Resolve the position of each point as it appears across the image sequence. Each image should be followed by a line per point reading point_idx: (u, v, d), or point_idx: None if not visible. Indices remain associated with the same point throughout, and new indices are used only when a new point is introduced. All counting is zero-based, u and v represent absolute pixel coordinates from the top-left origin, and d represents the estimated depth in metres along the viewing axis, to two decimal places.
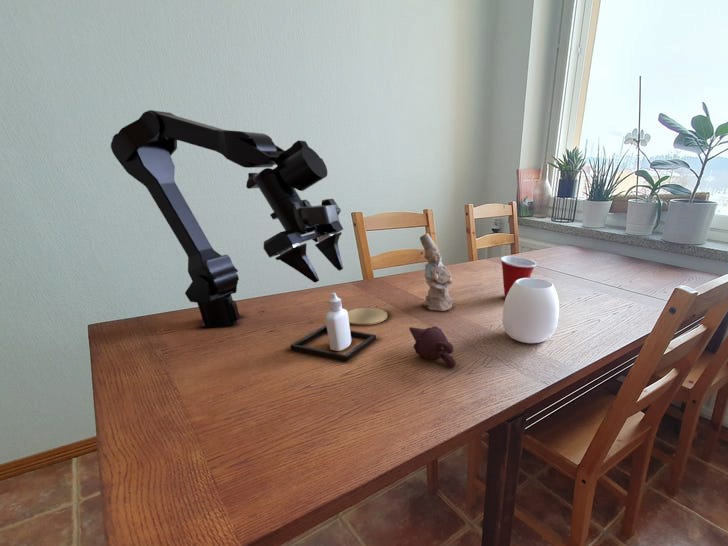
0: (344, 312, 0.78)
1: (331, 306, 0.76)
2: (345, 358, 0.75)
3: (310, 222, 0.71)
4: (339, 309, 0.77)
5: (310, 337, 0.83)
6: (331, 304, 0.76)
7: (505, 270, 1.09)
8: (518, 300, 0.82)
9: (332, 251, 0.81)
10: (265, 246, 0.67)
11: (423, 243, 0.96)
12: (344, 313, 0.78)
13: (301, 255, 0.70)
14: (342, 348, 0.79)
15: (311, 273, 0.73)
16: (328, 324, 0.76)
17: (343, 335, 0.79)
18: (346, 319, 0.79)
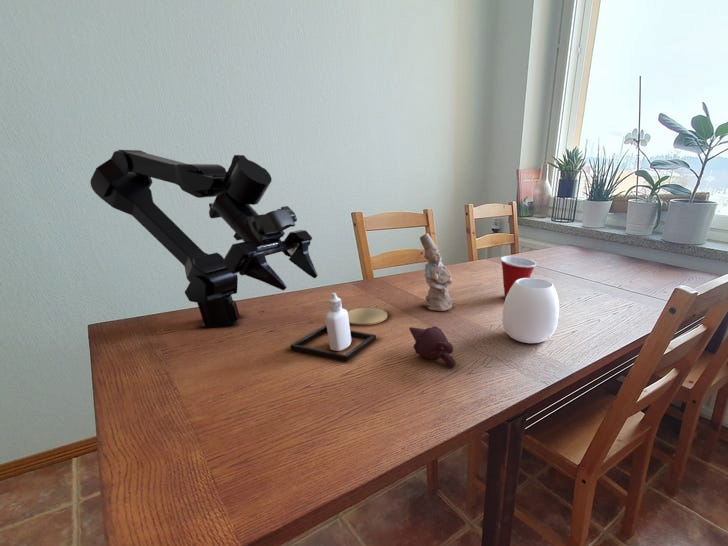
0: (344, 312, 0.78)
1: (331, 306, 0.76)
2: (345, 358, 0.75)
3: (265, 231, 0.71)
4: (339, 309, 0.77)
5: (310, 337, 0.83)
6: (331, 304, 0.76)
7: (505, 270, 1.09)
8: (518, 300, 0.82)
9: (303, 260, 0.80)
10: (225, 263, 0.68)
11: (423, 243, 0.96)
12: (344, 313, 0.78)
13: (261, 264, 0.70)
14: (342, 348, 0.79)
15: (276, 280, 0.72)
16: (328, 324, 0.76)
17: (343, 335, 0.79)
18: (346, 319, 0.79)
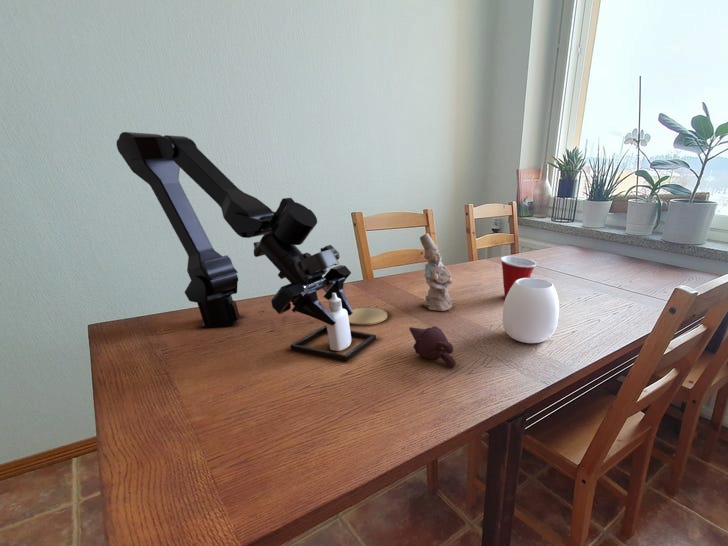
0: (344, 312, 0.78)
1: (331, 306, 0.76)
2: (345, 358, 0.75)
3: (311, 271, 0.72)
4: (339, 309, 0.77)
5: (310, 337, 0.83)
6: (331, 304, 0.76)
7: (505, 270, 1.09)
8: (518, 300, 0.82)
9: None
10: (272, 304, 0.69)
11: (423, 243, 0.96)
12: (344, 313, 0.78)
13: (313, 302, 0.72)
14: (342, 348, 0.79)
15: (326, 317, 0.74)
16: (328, 324, 0.76)
17: (343, 335, 0.79)
18: (346, 319, 0.79)
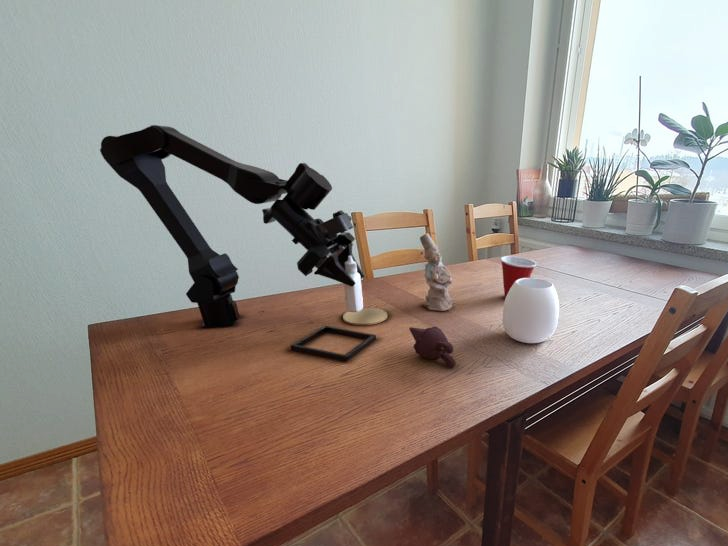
0: (359, 274, 0.83)
1: (348, 268, 0.80)
2: (345, 358, 0.75)
3: (330, 234, 0.76)
4: (355, 271, 0.82)
5: (310, 337, 0.83)
6: (348, 266, 0.80)
7: (505, 270, 1.09)
8: (518, 300, 0.82)
9: None
10: (300, 266, 0.72)
11: (423, 243, 0.96)
12: (359, 275, 0.83)
13: (335, 263, 0.76)
14: (359, 309, 0.84)
15: (347, 278, 0.79)
16: (347, 286, 0.81)
17: (360, 297, 0.84)
18: (360, 281, 0.84)
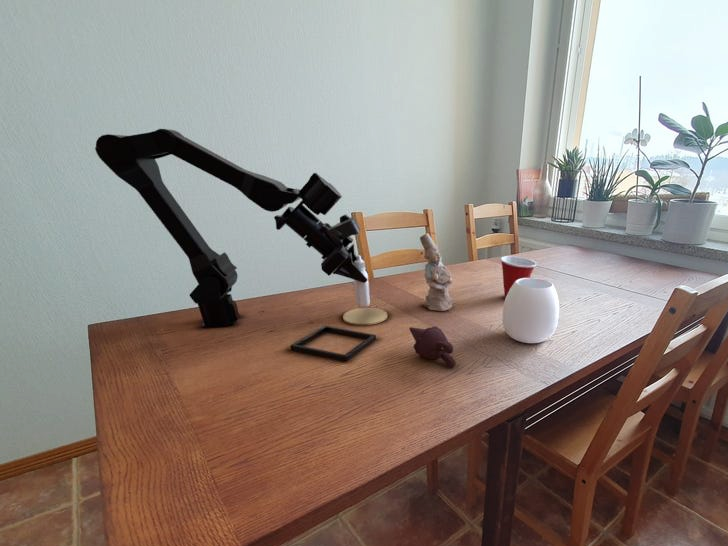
0: None
1: (359, 267, 0.89)
2: (345, 358, 0.75)
3: (344, 237, 0.84)
4: (364, 269, 0.90)
5: (310, 337, 0.83)
6: (359, 265, 0.89)
7: (505, 270, 1.09)
8: (518, 300, 0.82)
9: None
10: (324, 266, 0.80)
11: (423, 243, 0.96)
12: None
13: (351, 262, 0.85)
14: (369, 303, 0.93)
15: (361, 275, 0.88)
16: (359, 282, 0.89)
17: None
18: None
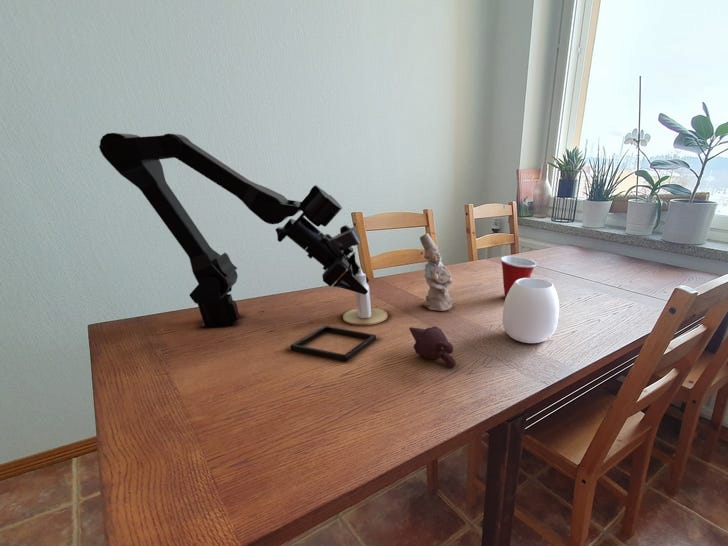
0: (367, 284, 0.93)
1: (360, 280, 0.91)
2: (345, 358, 0.75)
3: (344, 247, 0.85)
4: (365, 282, 0.92)
5: (310, 337, 0.83)
6: (360, 278, 0.91)
7: (505, 270, 1.09)
8: (518, 300, 0.82)
9: (356, 269, 0.95)
10: (326, 278, 0.81)
11: (423, 243, 0.96)
12: None
13: (352, 275, 0.85)
14: (370, 315, 0.95)
15: (361, 287, 0.87)
16: (361, 295, 0.91)
17: (370, 304, 0.94)
18: None
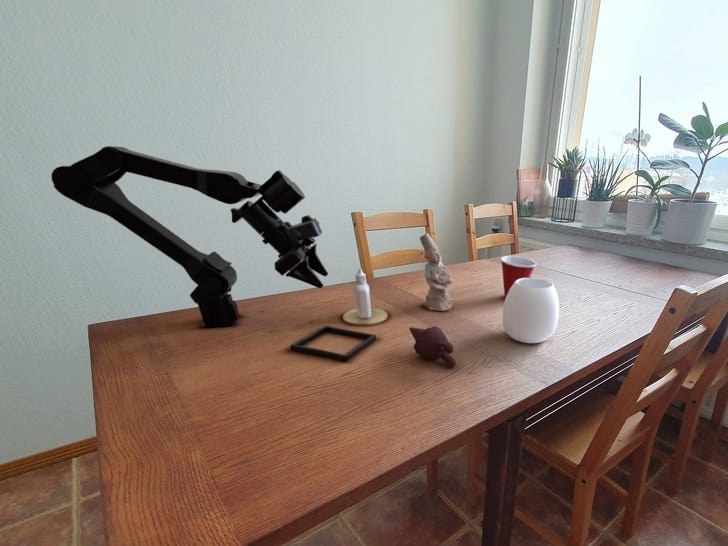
0: (367, 284, 0.93)
1: (360, 280, 0.91)
2: (345, 358, 0.75)
3: (303, 238, 0.83)
4: (365, 282, 0.92)
5: (310, 337, 0.83)
6: (360, 278, 0.91)
7: (505, 270, 1.09)
8: (518, 300, 0.82)
9: (315, 261, 0.92)
10: (278, 266, 0.78)
11: (423, 243, 0.96)
12: None
13: (307, 267, 0.82)
14: (370, 315, 0.95)
15: (317, 280, 0.85)
16: (361, 295, 0.91)
17: (370, 304, 0.94)
18: None
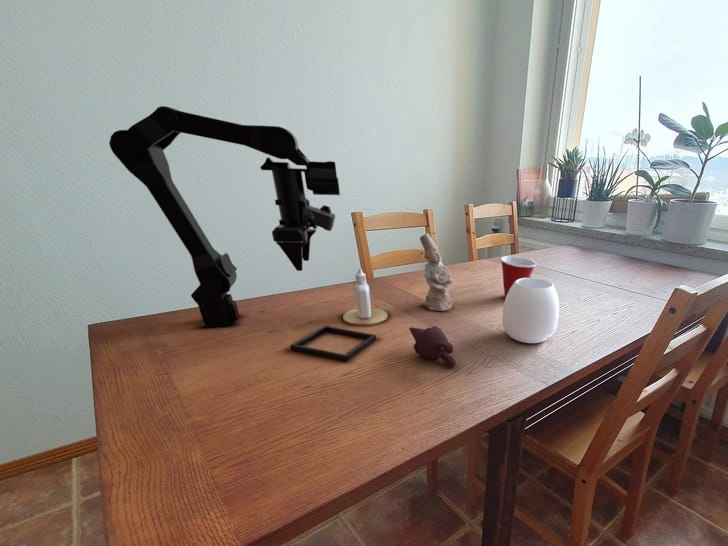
0: (367, 284, 0.93)
1: (360, 280, 0.91)
2: (345, 358, 0.75)
3: (314, 223, 0.83)
4: (365, 282, 0.92)
5: (310, 337, 0.83)
6: (360, 278, 0.91)
7: (505, 270, 1.09)
8: (518, 300, 0.82)
9: (305, 243, 0.91)
10: (277, 232, 0.76)
11: (423, 243, 0.96)
12: None
13: (301, 248, 0.81)
14: (370, 315, 0.95)
15: (300, 263, 0.84)
16: (361, 295, 0.91)
17: (370, 304, 0.94)
18: None
